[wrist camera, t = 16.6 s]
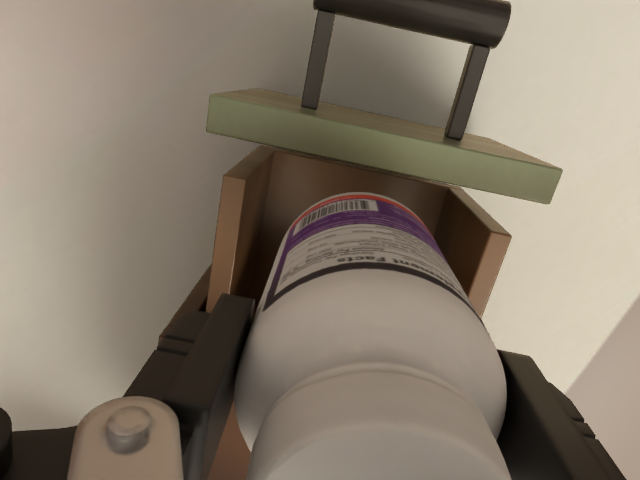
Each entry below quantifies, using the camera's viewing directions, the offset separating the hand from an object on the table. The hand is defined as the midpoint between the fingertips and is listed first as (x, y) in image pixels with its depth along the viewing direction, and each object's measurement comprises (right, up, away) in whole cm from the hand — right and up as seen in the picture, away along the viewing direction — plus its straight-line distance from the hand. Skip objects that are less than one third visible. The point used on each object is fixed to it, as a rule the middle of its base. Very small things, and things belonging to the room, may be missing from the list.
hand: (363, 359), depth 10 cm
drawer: (+1, +5, +13) cm, 14 cm away
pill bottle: (0, +2, +5) cm, 6 cm away
